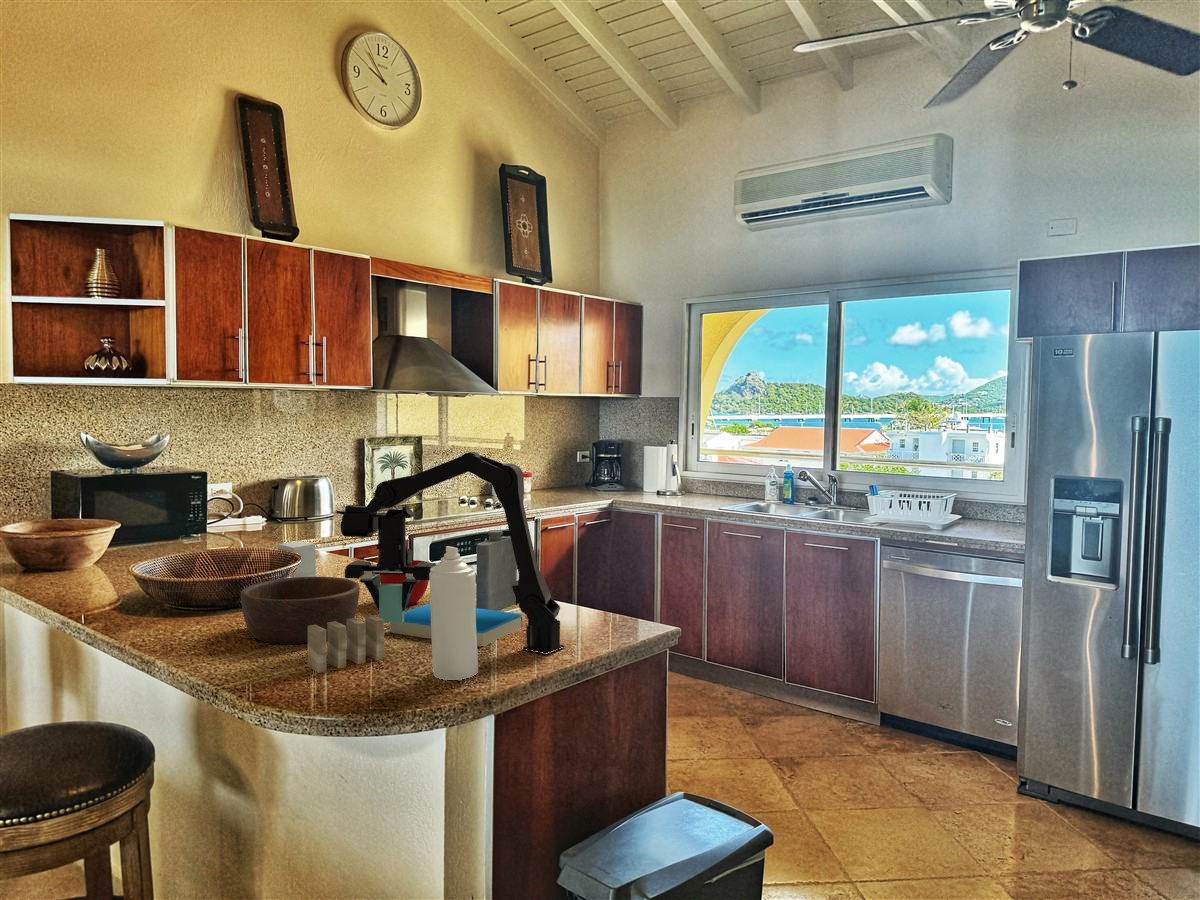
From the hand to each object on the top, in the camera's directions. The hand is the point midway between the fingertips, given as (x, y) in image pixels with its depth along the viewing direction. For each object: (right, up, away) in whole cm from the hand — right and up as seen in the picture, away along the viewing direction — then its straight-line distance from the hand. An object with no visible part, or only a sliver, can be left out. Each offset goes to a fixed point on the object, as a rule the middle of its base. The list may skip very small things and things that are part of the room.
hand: (391, 610), depth 174 cm
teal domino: (0, -3, 0) cm, 2 cm away
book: (+12, -8, +11) cm, 18 cm away
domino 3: (-4, -8, -12) cm, 15 cm away
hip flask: (+18, -6, +32) cm, 37 cm away
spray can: (+17, -9, -20) cm, 28 cm away
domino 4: (-1, -8, -9) cm, 12 cm away
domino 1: (-10, -8, -17) cm, 21 cm away
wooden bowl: (-22, -7, +8) cm, 25 cm away
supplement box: (-39, -4, +51) cm, 65 cm away
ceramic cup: (-6, -5, +39) cm, 40 cm away
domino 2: (-7, -8, -14) cm, 18 cm away
